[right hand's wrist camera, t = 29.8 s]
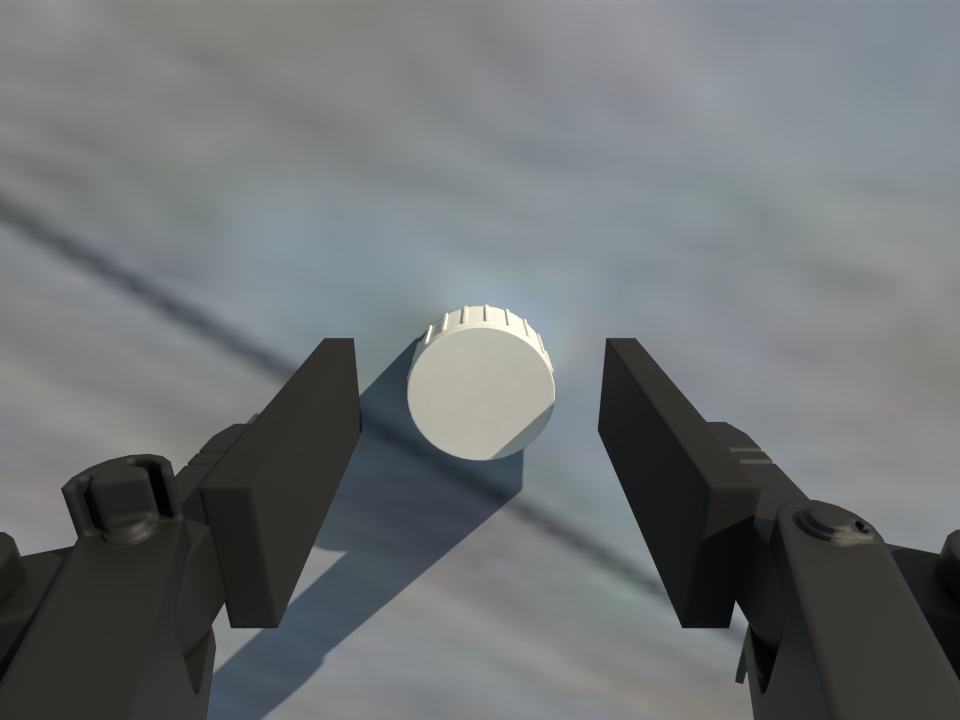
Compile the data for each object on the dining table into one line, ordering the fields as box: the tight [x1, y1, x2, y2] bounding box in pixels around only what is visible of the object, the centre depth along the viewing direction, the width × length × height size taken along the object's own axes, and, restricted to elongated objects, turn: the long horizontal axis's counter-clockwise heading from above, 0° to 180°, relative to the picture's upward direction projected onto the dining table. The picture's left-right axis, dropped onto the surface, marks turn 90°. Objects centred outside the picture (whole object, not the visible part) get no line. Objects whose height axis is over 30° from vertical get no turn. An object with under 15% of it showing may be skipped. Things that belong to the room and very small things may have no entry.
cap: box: [407, 305, 555, 461], centre depth 14 cm, size 4×4×2 cm
